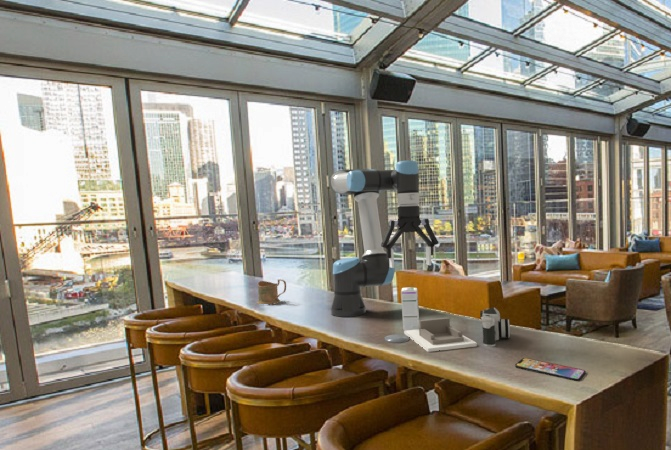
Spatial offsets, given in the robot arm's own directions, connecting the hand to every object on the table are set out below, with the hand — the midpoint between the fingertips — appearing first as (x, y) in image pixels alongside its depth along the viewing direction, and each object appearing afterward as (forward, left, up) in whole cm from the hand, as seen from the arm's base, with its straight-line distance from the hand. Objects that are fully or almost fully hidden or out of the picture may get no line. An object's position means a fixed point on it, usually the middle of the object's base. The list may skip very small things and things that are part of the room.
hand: (410, 266), depth 142 cm
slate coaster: (+6, -8, -23) cm, 26 cm away
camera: (+17, +21, -23) cm, 36 cm away
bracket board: (+11, +4, -23) cm, 26 cm away
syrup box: (-4, +1, -23) cm, 24 cm away
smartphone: (+43, +20, -24) cm, 53 cm away
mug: (-71, -46, -23) cm, 88 cm away
